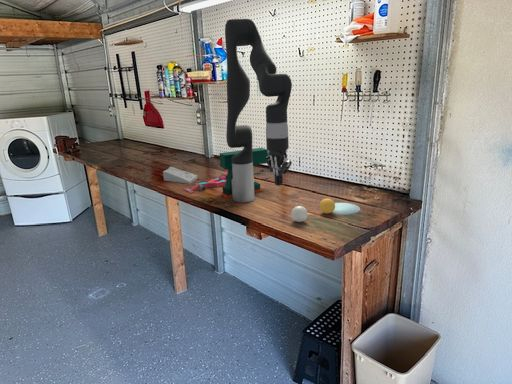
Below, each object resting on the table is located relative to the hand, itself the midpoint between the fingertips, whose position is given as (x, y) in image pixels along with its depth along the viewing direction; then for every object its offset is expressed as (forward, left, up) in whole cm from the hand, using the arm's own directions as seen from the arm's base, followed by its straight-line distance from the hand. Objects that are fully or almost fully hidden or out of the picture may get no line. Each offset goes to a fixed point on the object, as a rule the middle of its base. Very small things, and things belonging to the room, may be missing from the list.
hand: (278, 185), depth 132 cm
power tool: (-40, +29, -17) cm, 53 cm away
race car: (-65, +21, -17) cm, 70 cm away
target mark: (+7, +31, -16) cm, 35 cm away
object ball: (+5, +23, -13) cm, 27 cm away
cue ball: (+2, +9, -13) cm, 16 cm away
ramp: (-91, +22, -17) cm, 95 cm away
